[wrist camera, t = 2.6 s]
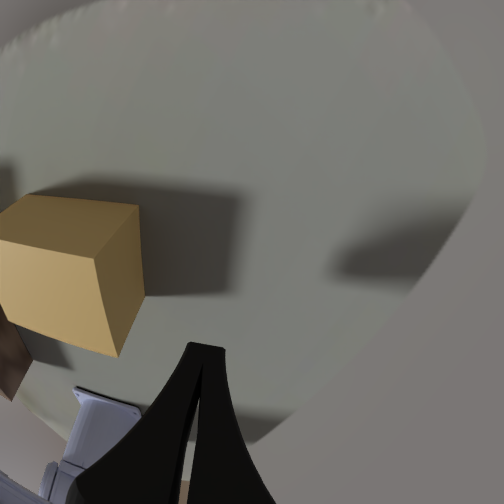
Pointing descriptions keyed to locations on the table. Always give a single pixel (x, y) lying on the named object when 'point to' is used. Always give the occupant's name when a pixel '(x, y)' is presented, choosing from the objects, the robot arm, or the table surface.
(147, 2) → the table surface
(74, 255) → the ochre block
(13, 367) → the walnut block
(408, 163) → the table surface
